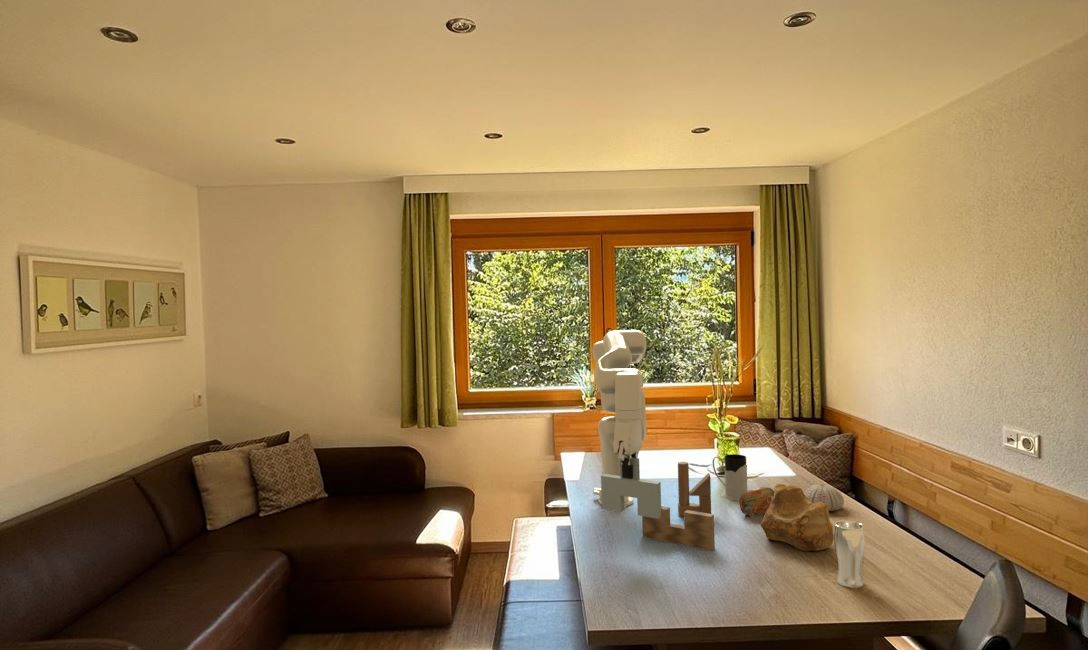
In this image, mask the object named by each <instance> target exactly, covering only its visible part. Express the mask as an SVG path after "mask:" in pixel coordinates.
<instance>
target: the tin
mask: <svg viewBox="0 0 1088 650" xmlns="http://www.w3.org/2000/svg"><path fill="white" fill-rule="evenodd" d="M773 496H774V490H773V489H772V488H771V487H766V486H760V487H756V488H752V489H747V491H745V492H744V493H743V494H742V495H741V497H740V501H739V509H740V511H741V512H742V513H743V514H744V515H747V516H749V517H755V516H759V515H763V514H764V515H765V513H766V511H767V510H768V508H769V506H770V503H771V501H772V499H773Z"/></svg>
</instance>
